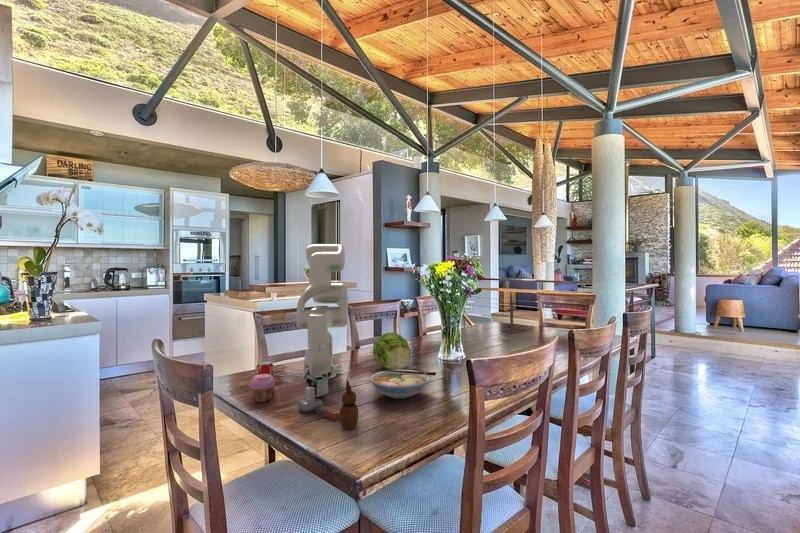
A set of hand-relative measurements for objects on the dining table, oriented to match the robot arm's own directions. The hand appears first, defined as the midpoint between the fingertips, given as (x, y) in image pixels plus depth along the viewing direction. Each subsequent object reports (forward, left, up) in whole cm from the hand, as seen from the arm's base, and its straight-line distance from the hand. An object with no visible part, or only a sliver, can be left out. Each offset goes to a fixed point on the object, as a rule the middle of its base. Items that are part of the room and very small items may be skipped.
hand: (318, 391), depth 158 cm
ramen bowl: (-20, +24, -2) cm, 31 cm away
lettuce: (-48, -3, -2) cm, 49 cm away
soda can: (+10, -21, -2) cm, 23 cm away
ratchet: (+11, +14, -2) cm, 18 cm away
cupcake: (+16, -13, -2) cm, 21 cm away
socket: (0, 0, -1) cm, 1 cm away
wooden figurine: (+13, +31, -2) cm, 33 cm away
